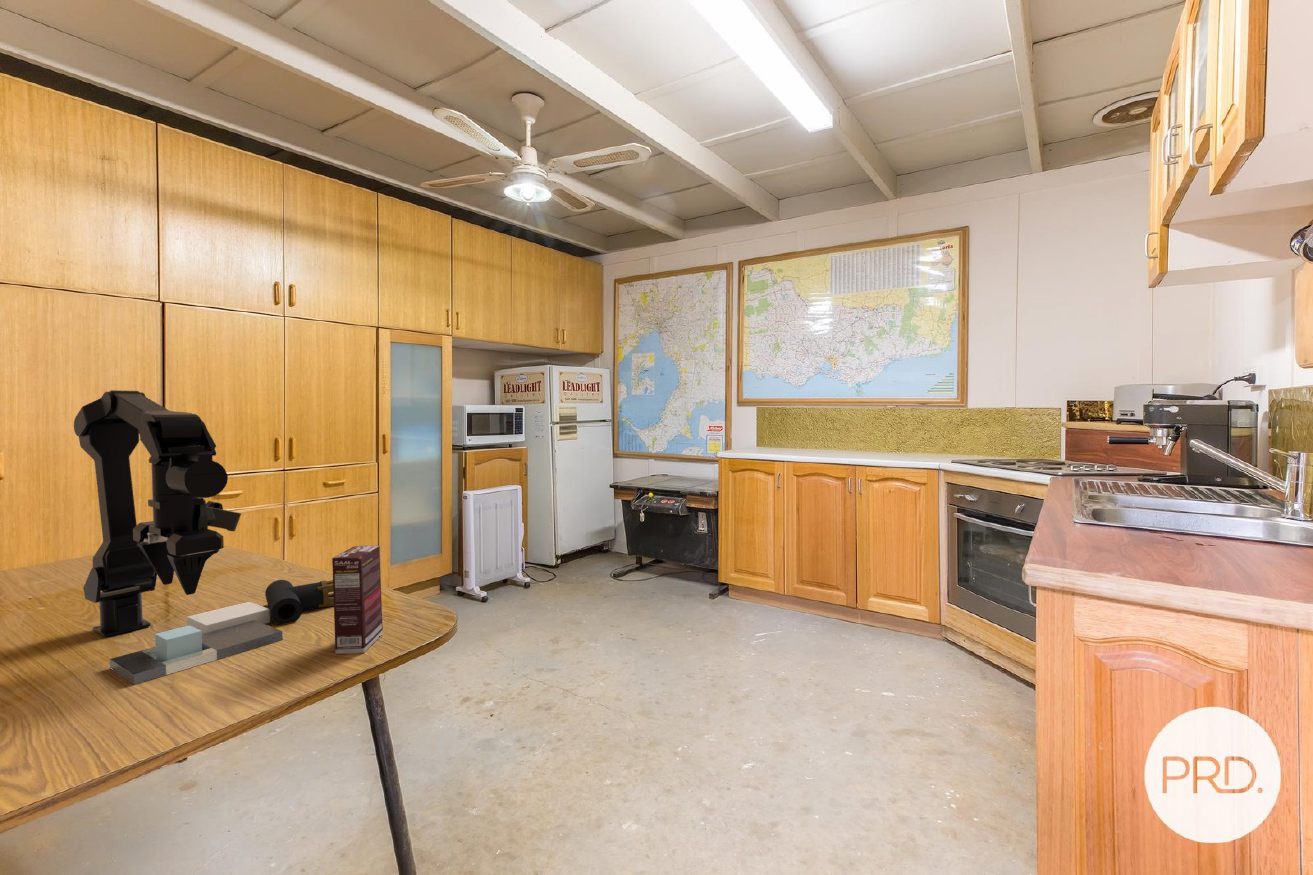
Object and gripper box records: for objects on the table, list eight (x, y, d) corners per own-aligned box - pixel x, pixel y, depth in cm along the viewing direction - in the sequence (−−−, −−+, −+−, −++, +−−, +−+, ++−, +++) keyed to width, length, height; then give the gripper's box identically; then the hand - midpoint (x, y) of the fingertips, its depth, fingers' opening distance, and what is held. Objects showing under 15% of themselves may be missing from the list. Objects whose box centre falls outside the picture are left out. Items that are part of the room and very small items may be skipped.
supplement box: (355, 635, 105) (353, 545, 104) (383, 634, 105) (381, 544, 105) (332, 655, 96) (330, 557, 96) (364, 654, 97) (361, 556, 96)
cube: (156, 662, 94) (155, 634, 94) (190, 652, 98) (189, 625, 97) (167, 668, 91) (166, 639, 91) (202, 658, 95) (201, 630, 95)
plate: (109, 668, 91) (109, 659, 91) (254, 628, 108) (254, 620, 108) (134, 684, 86) (133, 674, 86) (282, 639, 103) (282, 631, 103)
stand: (187, 630, 107) (186, 616, 107) (249, 614, 115) (249, 601, 115) (206, 639, 103) (206, 625, 103) (270, 622, 111) (269, 609, 111)
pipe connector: (328, 571, 128) (340, 588, 116) (329, 595, 128) (341, 615, 116) (264, 581, 121) (269, 600, 109) (265, 607, 121) (271, 629, 109)
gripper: (259, 492, 97) (261, 586, 98) (210, 482, 107) (212, 568, 108) (175, 500, 88) (178, 605, 89) (130, 489, 98) (133, 583, 99)
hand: (178, 589), depth 96 cm, fingers open, 9 cm apart
